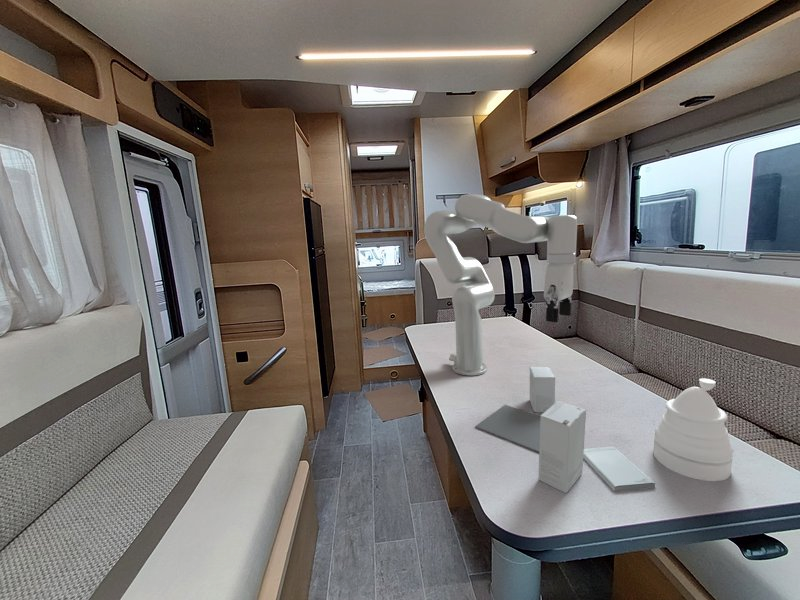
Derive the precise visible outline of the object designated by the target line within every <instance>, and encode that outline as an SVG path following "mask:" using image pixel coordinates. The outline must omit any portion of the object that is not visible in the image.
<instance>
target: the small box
mask: <svg viewBox="0 0 800 600" xmlns="http://www.w3.org/2000/svg"><path fill="white" fill-rule="evenodd" d="M529 401H530V404H531V408H532V410H533V412H534V413H544V412H545V411H547V410H548V409H549V408H550V407H551V406H552V405H554V404H555V403H556V377H555V374H554V373H553V371H552V369H551V368H550V367H548V366H546V367H545V366H544V367H543V366H529Z"/></svg>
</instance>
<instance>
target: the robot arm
mask: <svg viewBox="0 0 800 600" xmlns="http://www.w3.org/2000/svg"><path fill="white" fill-rule="evenodd" d="M476 225H479V226H483V227H485V228H488V229H490V230H492V232H494V233H496V234H497V235H499V236H501V237H504V238H507V239H509V240H513V241H516V242H518V243H522V244H531V243H541V242H546V243H547V245H546V249H547V250H546V266H547V267H546V271H545V278H544V286H543V287H544V288H543V298H544V299H545V308H546V309H545V310H546V313H545V315H546V316H545V320H546V322H551V323H558V322H559V315H560V316H566V317H570V316H571V315H572V301H573V299H572V296H573V292H574V291H573V290H574V266H575V265H576V259H577V258H576V257H577V242H578V241H577V239H578V237H577V236H578V219H577V216H575V215H573V214H567V215H565V214H564V215H563V214H561V215H554V216H543V215H540V216H538V215H523V214H519V213H516V212H513V211H509V210H508V209H506V207H505V205H504V204H503V203H502V202H499V201H496V200H492V199H490V198H489V197H488V196H487V195H483V194H477V193H475V194H474V193H467V194H463V195H461V196H459V198H458V199H456V201H455V204H454V210H446V209H445V210H437V211H434V212H431V213H430V214H429V215H428V216H427V217H426V219H425V223H424V228H423V229H424V230H423V233H424V236H425V237H424V239H425V240H426V243H427V245H428V246H429V248H430V250H431V251H432V253H433V254H434V257H435V259H436V261H437V264H438V266H439V268H440V269H441V272H442V274H443V276H444V277H445V280H446V282H448V283H449V285H453V286H454V285H455V286H456V285H461V284H465V285H462V286H460V287H458V288H456V289H455V290H454V292H453V294H452V297H451V301H452V302H451V303H452V307H453V311H454V319H455V322H454V324H455V353H456V354H454V353H451V354H450V355H449V358H448V360H449V361H450V362H453V365H452V371H453V372H454V373H456V374H458V375H461V376H468V377H469V376H471V377H472V376H473V377H474V376H478V375H479V376H480V375H483V374H485V373H486V372H487V371H488V366H487V365H486V364H485V363H483V361H484V360H483V359H484V357H483V321H482V316H481V315H480V312H479V310H480V309H485V308H487V307H489V306H491V305H492V304H493V302H495V301H494V300H495V297H496V295H495V290H494V286H493V285H492V282H491V280H490V279H489V277H488V275H487V273H486V271H485V268H484V267H483V265H482V264H481V262H480V261H479V260H478V259H477V258H475V257H472V256H465V257H464V256H462V255H461V253H460V251H459V249H458V246H457V245H456V244H455V243H454V241H453V240H452V239H451V238H450V237H449V236H448V235H454V234H462V233H464V232H467V231H468V230H470V229H471V228H473V227H475V226H476ZM558 306H559V308H558Z"/></svg>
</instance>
